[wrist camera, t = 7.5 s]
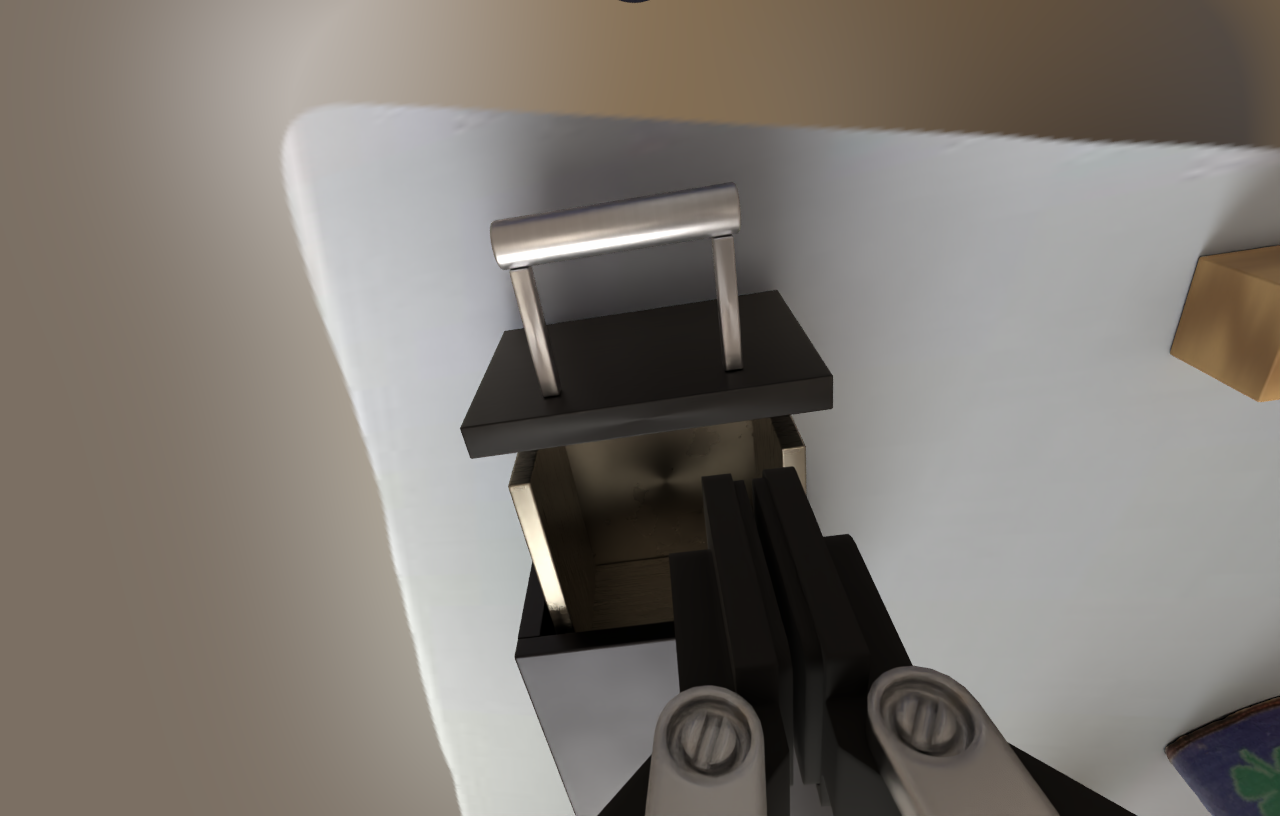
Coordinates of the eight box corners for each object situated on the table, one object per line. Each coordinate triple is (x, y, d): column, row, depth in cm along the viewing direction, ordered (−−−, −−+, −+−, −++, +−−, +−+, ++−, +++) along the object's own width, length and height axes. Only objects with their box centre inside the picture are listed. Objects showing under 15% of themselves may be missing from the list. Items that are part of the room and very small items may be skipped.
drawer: (464, 192, 23) (395, 248, 16) (771, 141, 22) (834, 177, 15) (570, 564, 33) (555, 698, 26) (787, 536, 32) (831, 667, 25)
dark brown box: (544, 496, 31) (513, 657, 23) (792, 462, 31) (856, 617, 22) (597, 678, 39) (589, 852, 30) (799, 655, 38) (848, 827, 29)
